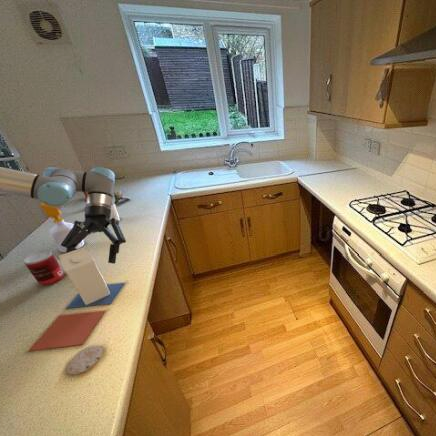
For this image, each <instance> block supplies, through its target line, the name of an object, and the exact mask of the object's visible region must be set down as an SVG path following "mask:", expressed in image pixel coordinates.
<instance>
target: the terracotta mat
mask: <svg viewBox="0 0 436 436" xmlns="http://www.w3.org/2000/svg"><path fill="white" fill-rule="evenodd" d="M105 313H106V310H97V311H88V312H80V313H71V314H61V315H58V316H57V318H56V319H55V320H54V321H53V322H52V323H51V324H50V325H49V327H48V328H46V330H45V331H44V332H43V333H42V334H41V336H40V337H39V338H38V339H37V340H36V341H35V342H34V344H33V345H32V346H31V347H30V348H29V349H28V352H37V351H45V350H53V349H62V348H69V347H78V346H83V345H84V343H85V342H86V341H87V339H88V338H89V336H90V335H91V333H92V332H93V330H94V329H95V328H96V326H97V325H98V324H99V322H100V321H101V320H102V318H103V316H104V315H105Z"/></svg>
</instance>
